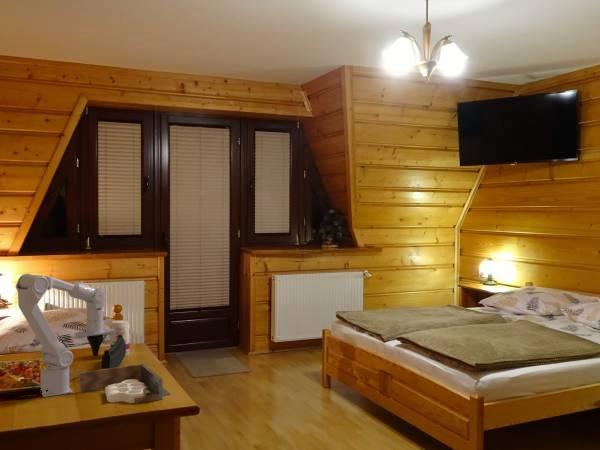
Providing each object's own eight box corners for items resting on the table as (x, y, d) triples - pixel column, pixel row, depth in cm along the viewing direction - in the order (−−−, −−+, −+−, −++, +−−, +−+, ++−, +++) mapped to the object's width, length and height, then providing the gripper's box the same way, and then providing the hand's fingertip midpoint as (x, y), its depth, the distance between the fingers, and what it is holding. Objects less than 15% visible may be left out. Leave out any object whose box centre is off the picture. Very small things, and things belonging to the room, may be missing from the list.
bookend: (159, 399, 200) (159, 379, 200) (140, 382, 220) (139, 364, 219) (173, 397, 203) (173, 377, 203) (153, 380, 222) (153, 362, 222)
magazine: (107, 357, 222) (123, 319, 250) (98, 357, 221) (116, 319, 250) (111, 395, 227) (126, 354, 256) (102, 396, 227) (119, 355, 255)
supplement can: (124, 352, 266) (124, 319, 265) (132, 355, 260) (132, 321, 259) (107, 355, 260) (106, 321, 260) (115, 358, 254) (115, 324, 254)
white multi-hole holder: (104, 391, 211) (146, 386, 216) (107, 407, 194) (153, 401, 199) (104, 382, 210) (145, 377, 216) (107, 397, 194) (152, 392, 199)
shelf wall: (93, 411, 189) (93, 389, 189) (79, 391, 208) (79, 372, 208) (162, 399, 201) (162, 378, 200) (143, 382, 220) (143, 363, 220)
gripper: (76, 323, 213) (77, 360, 213) (117, 319, 220) (117, 355, 221) (73, 320, 219) (73, 356, 219) (112, 316, 226) (112, 351, 227)
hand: (95, 355), depth 220 cm, fingers closed
